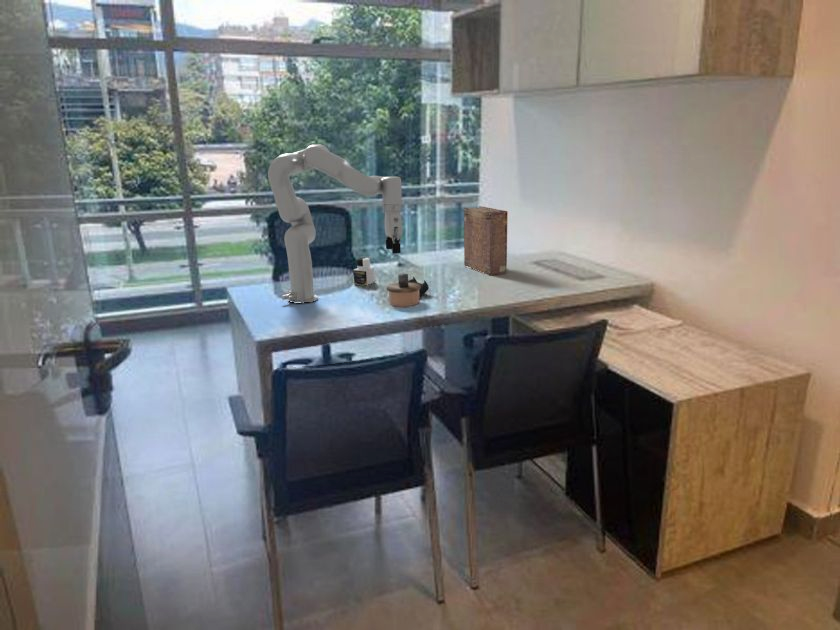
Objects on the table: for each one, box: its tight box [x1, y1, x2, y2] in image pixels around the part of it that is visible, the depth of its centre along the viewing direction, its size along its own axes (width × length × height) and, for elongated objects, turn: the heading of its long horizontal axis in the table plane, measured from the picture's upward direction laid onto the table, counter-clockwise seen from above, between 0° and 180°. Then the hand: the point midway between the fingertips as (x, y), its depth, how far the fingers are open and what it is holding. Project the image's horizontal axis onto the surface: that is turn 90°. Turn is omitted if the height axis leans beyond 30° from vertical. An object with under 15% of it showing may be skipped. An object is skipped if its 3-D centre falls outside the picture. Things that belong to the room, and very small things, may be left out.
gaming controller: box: [408, 276, 430, 298], centre depth 269 cm, size 17×6×10 cm
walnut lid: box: [385, 272, 421, 293], centre depth 254 cm, size 14×14×6 cm
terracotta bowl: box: [388, 290, 420, 308], centre depth 255 cm, size 12×12×6 cm
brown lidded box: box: [463, 205, 509, 276], centre depth 307 cm, size 25×9×30 cm, turn 26°
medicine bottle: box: [352, 256, 376, 286], centre depth 289 cm, size 7×7×12 cm
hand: (393, 251), depth 253 cm, fingers open, 9 cm apart
